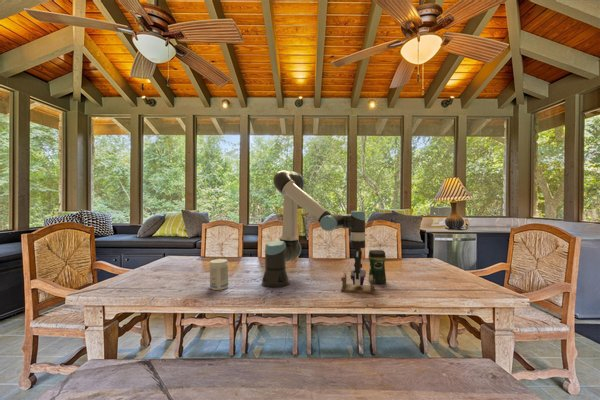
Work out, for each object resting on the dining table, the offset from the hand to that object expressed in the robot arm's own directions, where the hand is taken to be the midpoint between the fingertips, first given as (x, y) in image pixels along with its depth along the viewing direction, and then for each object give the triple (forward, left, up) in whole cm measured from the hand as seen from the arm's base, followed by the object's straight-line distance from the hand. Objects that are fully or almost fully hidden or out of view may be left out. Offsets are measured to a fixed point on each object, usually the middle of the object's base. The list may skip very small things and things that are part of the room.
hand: (357, 282), depth 147 cm
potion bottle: (0, 0, -1) cm, 1 cm away
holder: (0, 0, -4) cm, 4 cm away
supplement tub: (-73, -16, -4) cm, 75 cm away
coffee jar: (+10, +16, -4) cm, 19 cm away
